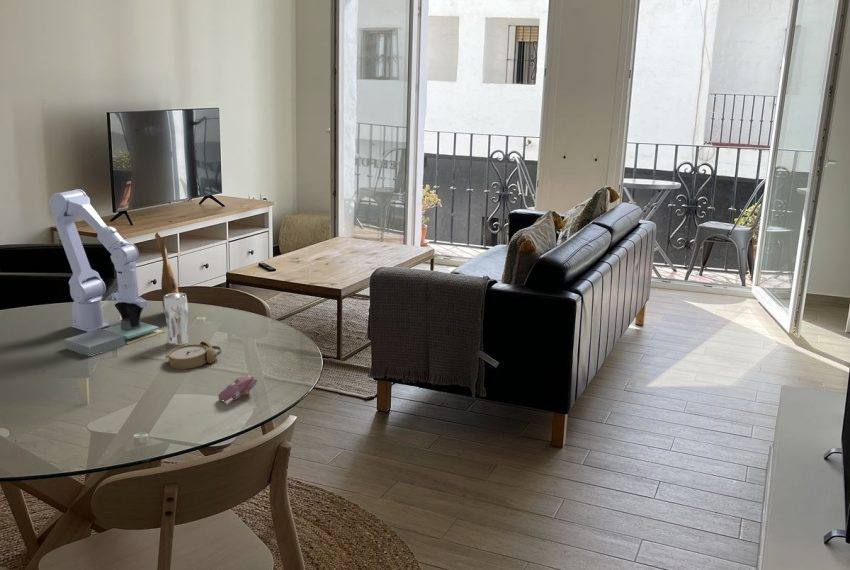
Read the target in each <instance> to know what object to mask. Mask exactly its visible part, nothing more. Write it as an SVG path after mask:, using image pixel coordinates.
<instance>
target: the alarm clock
mask: <svg viewBox="0 0 850 570" xmlns="http://www.w3.org/2000/svg"><path fill="white" fill-rule="evenodd" d="M216 350H218V351H216ZM222 352H223V351H222V347H221V346H218V345H212V344H210V342H208V341H200V342H199V343H192V344H184V345H179V346H177V347H175V348H172V349H171V350H170V351H169V352H168V353H167V356H166V358H168V361H169V366H170V367H171V368H174V369H179V370H188V369H195V368H199V367H200V366H203V365H205V364H207V363H208V364H209V365H210V364H213V363H214V362H215V361H216V359H217V357H218V356H219V355H220V354H222Z"/></svg>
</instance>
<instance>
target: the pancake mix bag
mask: <svg viewBox="0 0 850 570" xmlns="http://www.w3.org/2000/svg"><path fill="white" fill-rule="evenodd" d="M154 238H155V241H156V242H157V244H158V247H159V249H160V254H161V257H162V270H161V271H162V273H161V285H160V287H161V288H160V289H161V294H160V295H161V302H162V308H163V310H164V295H166V294H169V293H180V291H179V287H178V284H177V281H176V278H175V276H174V272H173V269H172V267H171V262H169V255H168V252H167V248H166V243H165V241H164V239H163V237H162V236H161V235H160V234H159V233H158V231H157V232H156V233H155V235H154Z"/></svg>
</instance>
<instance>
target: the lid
mask: <svg viewBox="0 0 850 570" xmlns="http://www.w3.org/2000/svg"><path fill="white" fill-rule="evenodd" d="M119 322H120V324H117V325H112V326H108V327H104V328H101V329H102V330H105V331H109V332H112V333H115V334H119V335H122V336H124V338H125V339H129V338H133V337H136V336H139V335H143V334H146V333H149V332H152V331H156V330H160V326H157V325H154V324H149V323H146V322H142V321H141V318H140V319H139V324H138V326H136V327H132V326H131V323H130V317H129V318H126V319H122V318H121V319H120V321H119Z"/></svg>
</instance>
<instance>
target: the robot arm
mask: <svg viewBox="0 0 850 570" xmlns="http://www.w3.org/2000/svg"><path fill="white" fill-rule="evenodd" d="M48 205H49V207H50V210H51V212H52V213H51V214H52V216H53V221H54V224H55V227H56V230H57V233H58V235H59V239H60V240H61V244H62V246H63V249H64V252H65V255H66V259H67V260H68V261H67V262H68V263H69V265H70V269H71V271H72V275H71V277H70V279H69V281H68V285H69V292H70V293H69V295H70V296H71V299H72V300H73V302H72V305H71V315H72V316H71V317H72V324H70V327H71V328H74V329H77V330H81V331H83V332H86V333H87V332H90V331H93V330H97V329H105V328H108V327H111V326H110V323H107V322H105V321H104V315H103V314H104V313H103V306H102V305H103V302H102V299H103V298H104V297H103V295H105V294H106V291H107V287H106V284H105V282H104V281H103V279H102V278H101V276H100V273H99V272H98V271H96V270H94V269H92V267H91V265H90V262H89V259H88V257H87V254H86V251H85V249H84V246H83V242H82V240H81V237H80V234H79V231H78V228H77V226H76V223H75V220H76V219H77V217H78V216H79V217H81V218H82V219H83V220H84V221H85V223H87V224H88V225H89V226H90V227H91V228H92V229H93V230H94V231H95V232H96V233H97V240H98V241H99V242H100V243H101V244H102V245H103V246H104V248H105V249H106V250H107V251H108V252H109V253H110V254H111V255H110V259H111V263H112V264H113V265H114V270H115V272H116V279H117V280H116V281H117V291H118V292H114V293H111V294H110V295H111V301H116V302H117V303H115V304H114V307H115V308H116V310H117V311H118V312H119V315H120V317H121V320H122V319H126V318H129V317H130V323H131V326H132V327H136V326H138V324H139V319H140V320H141V318H140V317H141V314H142V312H143V309H144V308H145V307H148V301H147V300H146V299H144V298H142V297H141V296H140V295H139V289H138V288H139V287H138V276H137V266H136V265H137V263H136V261H137V260H139V257H140V252H139V249H138V247H137V246H136V245H135V244H134V243H131V242H129V241H126V240H125V239H124V238H123V237H122V236H121V234H119V232H118V230H117V229H116V228H115V227H114V226H109V225H106V223H105V222H104V221H103V219H102V218H101V216H100V215H99V214H98V212H97V211H96V210H95V208H94V207H93V206H92V205H91V198H90V197H89V196H88V195H87V194H86V192H85V191H84V190H83V189H80V188H75V189H74V190H68V191H63V192H55V193H53V194H52V195H51V197H50V199H49V202H48Z"/></svg>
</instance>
